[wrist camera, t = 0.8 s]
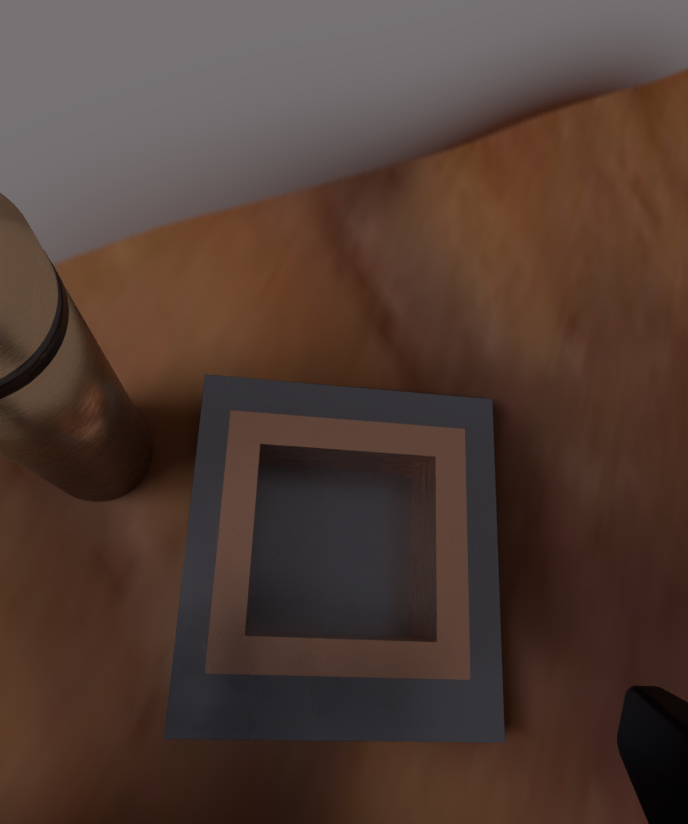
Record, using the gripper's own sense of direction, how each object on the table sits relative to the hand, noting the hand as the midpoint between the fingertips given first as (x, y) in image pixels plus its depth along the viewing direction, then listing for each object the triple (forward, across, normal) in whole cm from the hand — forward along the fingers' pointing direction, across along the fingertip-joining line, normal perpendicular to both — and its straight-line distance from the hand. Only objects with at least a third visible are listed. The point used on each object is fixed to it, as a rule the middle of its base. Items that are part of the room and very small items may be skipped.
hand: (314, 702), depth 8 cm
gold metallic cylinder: (+14, +7, +1) cm, 16 cm away
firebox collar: (+13, -1, +4) cm, 14 cm away
